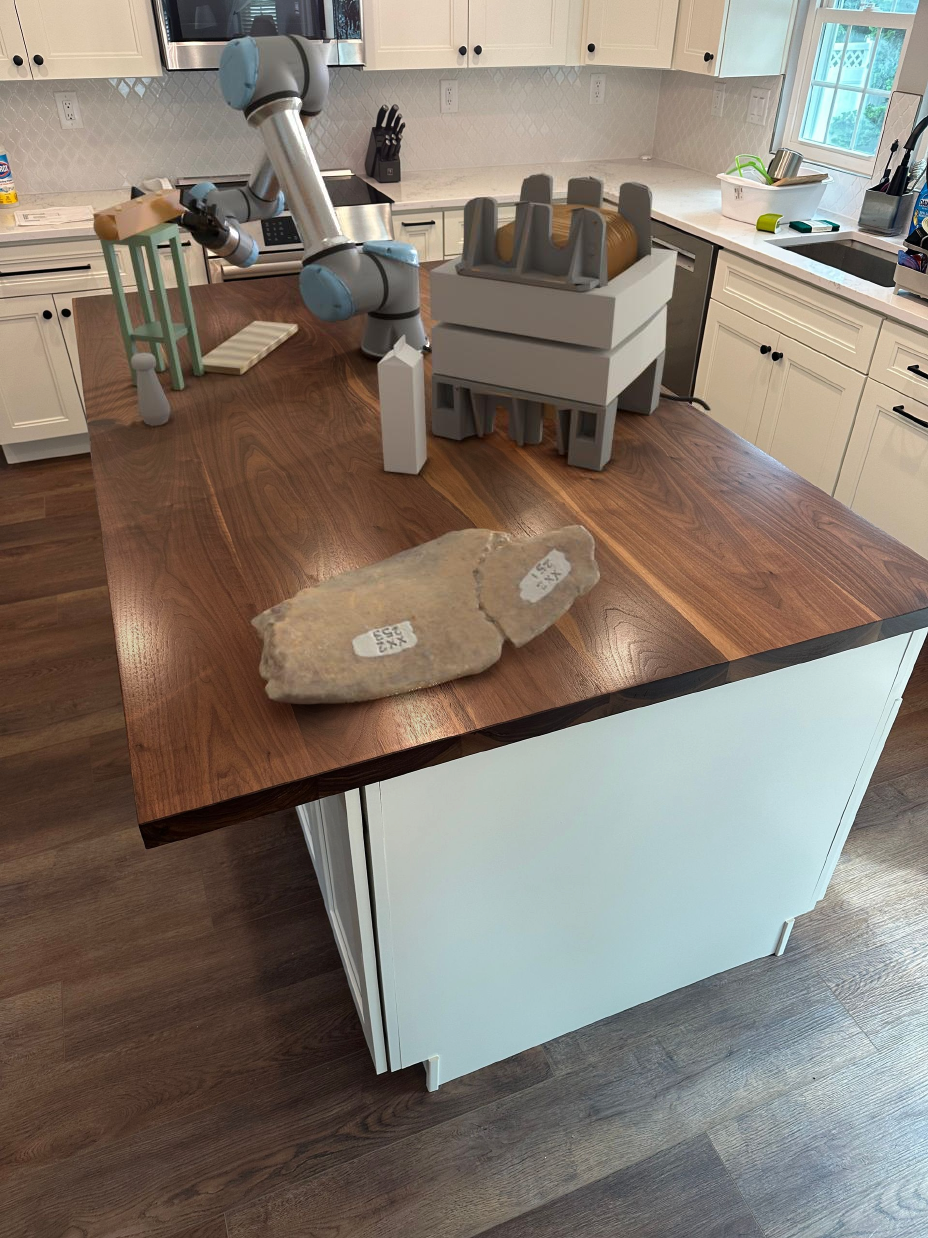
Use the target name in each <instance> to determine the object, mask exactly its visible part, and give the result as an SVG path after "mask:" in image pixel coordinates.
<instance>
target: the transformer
mask: <svg viewBox="0 0 928 1238" xmlns="http://www.w3.org/2000/svg"><path fill="white" fill-rule="evenodd" d="M604 189H605V183H604V181H603V179H602V180H601V179H598V178H595V177H593V176H590V175H589V177H587V176H581V177H580V176H579V177H572V178H570V179H569V180H568V181H567V192H566V204H565V203H553V192H554V191H553V190H554V178H553V176H552V175H550V174H547V173H545V172H541V173H536V174H531V175H529V176H528V177H525V178H523V181H522V183H521V187H520V196H519V201H518V202H516V203H514V205H513V206H514V207H515V215H514V220H512V221H511V222H508V223H506V224H504V225H502V226H500V227H499V226H498V225H499V201H498V200H497V199H496V198H494V197H492V196H479V197H478V196H477V197H474V198H472V199H469V200H468V201H467V203H465V205H464V207H463V242H462V243H463V245H462V253H461V254H460V255H458V256H457V257H454V258H452V259H450V260H449V261H447V262H445V263H443V264H441V265H439V266H437V267H435V268H433V269H431V270H430V271H429V297H430V298H429V300H430V301H429V302H430V320H431V321H437V322H438V323H436V324H434V325H433V326H431V328H430V334H431V338H430V339H431V348H432V353H431V368H432V369H431V372H432V374H431V376H430V377H431V380H430V381H431V382H430V383H431V432H432V433H433V435H435V436H439V437H443V438H448V439H452V440H455V441H456V440H457V441H461V440H463V439H465V438H467V437H471V436H475V435H477V437H479V438H483V437H484V434H485V435H491V434H492V433H493V432H494V431H495V430H494V429H495V422H496V413H497V408H500V409H504V410H506V411H507V413H508V433H507V434H508V437H509V439H511V440H512V441H515V442H516V443H517V446H520V447H523V446H524V444H529V445H530V444H531V445H539V444H540V443H541V442H542V440H543V427H544V426H543V425H544V418H547V419H551V420H553V421H554V420H555V425H556V448H557V449H558V455H562V456H565V452H567V465H570V466H575V467H579V468H583V469H589V470H593V471H597V472H601V471H602V470H604V466H605V465H606V464H607V463H608V462H609V461H610V460H611V456H612V455H611V454H612V445H613V439H614V432H615V424H616V417H617V409H620V410H625V411H629V412H633V413H638V414H643V415H649V416H650V415H651V414H653V412H654V411H655V409H659V408H660V407H659V402H660V397H659V395H660V392H661V387H662V379H663V374H664V373H663V372H664V364H665V357H666V351H667V350H666V340H667V316H668V315H667V313H668V304H667V302H669V300H671V299H672V298H673V291H674V284H675V283H674V282H675V274H676V267H677V258H678V250H674V249H673V250H672V249H663V248H655V247H652V244H653V240H652V222H651V219H652V210H653V209H652V208H653V197H654V196H653V193H652V191H651V189H650V188H649V186H647V185H645V184H642V183H639V182H637V181H625V182H624V183H621V184H620V186H619V191H618V193H619V194H618V202H617V204H618V205H617V211H615V210H610V209H605V208H603V204H604V203H603V202H604Z"/></svg>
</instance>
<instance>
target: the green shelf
mask: <svg viewBox="0 0 928 1238" xmlns="http://www.w3.org/2000/svg"><path fill="white" fill-rule="evenodd" d="M166 241H168V243H169V248H170V253H171V254H170V255H171V258H172V264H173V269H174V274H175V275H174V276H175V280H176V286H177V291H178V296H179V301H180V307H181V312H182V317H183V323H180V322H173V320H172V316H171V311H170V306H169V300H168V296H167V291H166V286H165V280H164V275H163V270H162V266H161V260H160V255H159V249H158V245H160V244H162V243H164V242H166ZM181 241H182V240H181V235H180V230H179V226H178V224H171V223H161V224H158V225H156V226H154V227H151V228H149V229H147V230H144V231H142V232H140V233H137V234H135V235H132V236H130V237H128V238H125V239H123V240H121V241H114V240H110V241H107V240H99V242H100V245H101V250H102V254H103V258H104V262H105V267H106V271H107V275H108V280H109V285H110V288H111V294H112V297H113V301H114V306H115V310H116V315H117V320H118V324H119V327H120V332H121V336H122V341H123V346H124V350H125V353H126V358H127V363H128V366H129V367H128V368H129V371H130V375H131V376H130V377H131V380H132V384H133V386H136V387H137V371H136V370H135V369H134V368H133V367H132V364H131V359H132V357H133V356H134V355H135V354H138V353H139V352H138V349H137V344H136V342H145V343H148V345H149V349H150V354H152V355H153V356H154V357H155V359H156V367H154V371H155V372H159V373H160V372H164V371H165V370H166V365H165V360H164V356H163V355H164V354H163V351H162V347H161V344H164V348H165V352H166V357H167V362H168V366H169V372H170V377H171V381H172V387H173V390H175V391H182V390H184V389H185V383H184V377H183V372H182V367H181V362H180V357H179V353H178V351H179V350H178V347H177V342H176V341H178V340H180V339H181V338H182V337H184V336H186V338H187V344H188V350H189V354H190V359H191V365H192V370H193V375H194V376H199V377H201V376H203V375H204V374H205V371H204V368H203V362H202V357H203V356H202V352H201V345H200V341H199V335H198V330H197V329H198V328H197V323H196V319H195V313H194V308H193V303H192V295H191V291H190V285H189V280H188V279H189V278H188V275H187V268H186V263H185V258H184V252H183V246H182V242H181ZM114 245H116V246H117V245H118V246H128V251H129V255H130V260H131V265H132V266H131V267H132V269H133V274H134V281H135V284H136V288H137V293H138V297H139V302H140V307H141V312H142V317H143V322H144V323H143V324H141V325H140V326H138V327H136V328H135V329H133V326H132V322H131V317H130V313H129V308H128V304H127V300H126V296H125V291H124V287H123V281H122V277H121V273H120V269H119V264H118V259H117V255H116V250H115V246H114ZM141 247H143V248H144V249H145V255H146V259H147V265H148V269H149V273H150V279H151V284H152V289H153V294H154V299H155V304H156V308H157V312H158V313H157V314H158V318H159V321H157V320H156V317H155V313H154V308H153V303H152V298H151V292H150V288H149V284H148V278H147V274H146V269H145V264H144V260H143V254H142V249H141Z"/></svg>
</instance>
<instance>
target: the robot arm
mask: <svg viewBox="0 0 928 1238" xmlns="http://www.w3.org/2000/svg"><path fill="white" fill-rule="evenodd" d="M328 68H329V67H328V64H327V62H326V59H325V57H324V55H323V53H322V52H321V51H320V49H319V48H318V47H317V45H316V44H314V43H313V42H312V41H310V39H308V38H306V37H304V36H301V35H298V34H285V35H272V36H271V35H269V36H268V35H267V36H250V35H246V36H244V37H242V38H241V37H240V38H234V39H231V40H230V41H228V42H227V43H226V44H225V46H224V47H223V48H222V50H221V53H220V57H219V67H218V79H219V86H220V89H221V93H222V97H223V98H224V101H225V102H226V104H227V105H228V106H229V107H230V108H232V109H233V110H236V111H238V112H240V111H242V113H243V116H244V118H245V121H246V123H247V125H248V126H249V127H252V128H253V129H255V130H257V131H258V133H259V135H260V138H261V141H262V144H261V147H260V149H259V152H258V154H257V157H256V159H255V163H254V164H253V167H252V169H251V172H250V174H249V175H250V176H249V178H248V180H247V182H246V185H245V186H243V187H238V188H232V189H226V190H221V191H220V190H219V189H218V187H216V186H215V184H214V183H212V182H209V181H201V182H198V183H197V184H196V185H194V186H193V187H192V188H191V189H190V190H189V191H187V190H186V189H184V188H180V189H179V190H180V200H179V204H181V205H182V206H184V209H185V213H184V214H182V215H180V216H177V217H175V218H173V219H170V220H168V221H165V222H163V223H171V224H178V228H179V227H180V228H182V229H185V230H186V231H187V232H190V235H191V237H192V239H193V240H194V241H195V243H197V244H199V245H200V246H202V247H203V248H205V249H207V250H208V251H210V252H211V253H213V254H215V255H216V256H217V257H218V256H219V257H220V258H222V259H223V260H225V261H226V262H228V263H229V264H230V265H232V266H234V267H237V268H240V269H247V268H250V267H252V266H254V264H255V263H256V262H257V260H258V258H259V252H260V251H259V246H258V244H257V241H256V240H254V239H253V237H252V235H250V234H247V233H246V231H245V229H244V228H243V227H242V225H241V224H246V223H252V222H258V221H263V220H270V219H272V218H275V217H279V216H281V215H282V214H283V212H284V210H285V204H284V203H286V205H287V208H288V211H289V214H290V216H291V218H292V221H293V223H294V226H295V228H296V231H297V233H298V236H299V239H300V241H301V244H302V246H303V249H304V253H303V256H302V259H301V265H302V268H303V269H302V270H301V271H300V273H299V277H298V282H299V292H300V294H301V297H302V299H303V302H304V304H305V305H306V307H307V309H308V310H309V311H310V312H311V313H312V314H313V315H314V316H316V318H319V319H320V320H321V321H323V322H326V323H336V322H340V321H342V322H343V321H347V320H350V319H351V318H354V317H357V316H361V315H364V314H367V315H366V316H367V317H366V322H365V328H364V332H363V336H362V339H361V342H360V344H361V345H360V347H361V353H362V355H364V356H365V357H366V358H369V359H370V360H374V361H379V362H380V361H381V360H382V359H383V358H384V357H385V356H386V355H387V353H388V352H390V351H391V350H393V349H394V345H395V344H396V343H397V342H398V341H399V340H400V338H401V337H402V336H403V335H405V339H406V344H408V345H409V346H411V347H412V348H414V349H415V350H417V351H418V352H420V353H421V354H423V357H424V356H426V355H427V354H428V353H430V354H432V347H430V340H429V339H430V338H429V337H428V334H427V332H426V328H425V325H424V323H423V319H422V317H421V304H420V303H421V302H420V301H421V299H420V264H419V256H418V250H417V248H416V247H415V246H414V245H412V244H409V243H406V242H402V241H395V240H384V239H383V240H382V239H374V240H373V239H372V240H366V241H365V242H363V244H362V247H361V251H362V252H361V253H359V251H358V248H357V245H356V243H355V241H354V240H353V239H351V238H348V237H346V236H345V233H344V232H343V229H342V226H341V223H340V221H339V218H338V216H337V212H336V210H335V208H334V205H333V203H332V200H331V197H330V195H329V192H328V189H327V186H326V184H325V181H324V178H323V176H322V173H321V171H320V168H319V165H318V162H317V160H316V157H315V154H314V151H313V148H312V146H311V143H310V141H309V138H308V136H307V132H308V130H309V127H310V125H311V123H312V121H313V118H317V117H318V116H320V115H321V112H322V111H323V108H324V106H325V103H326V101H327V98H328V95H329V90H330V74H329V73H330V72H329V69H328ZM146 194H147V193H146V192H144V191H142V189H140V188H138V187H136V186H131V190H130V200H132V199H135V198H138V197H140V196H143V195H146ZM659 398H662V399H665V400H669V401H673V402H678V403H695V404H697V405H699V406H701V407H702V409H704V411H708V412H710V411H712V409H711V408H710V406H709V405H708V403H707V402H705V401H704V400H703V399H701V398H699V397H696V396H695V397H694V396H678V395H673V394H668V393H666V392H661V391H660V395H659Z"/></svg>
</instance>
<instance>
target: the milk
mask: <svg viewBox="0 0 928 1238" xmlns="http://www.w3.org/2000/svg"><path fill="white" fill-rule="evenodd" d="M376 366H377V379H378V381H377V382H378V392H379V393H378V395H379V396H378V398H379V410H380V412H379V413H380V425H381V441H382V455H383V456H382V457H383V471H385V472H390V473H391V472H392V473H400V474H407V475H409V474H410V475H418V474H419V473H420V471H421V469H422V468H423V466H424V465H425V463H426V461H427V459H428V458H427V457H428V456H427V455H428V454H427V453H428V452H427V430H426V428H427V427H426V425H427V424H426V401H425V400H426V399H425V398H426V397H425V395H426V394H425V371H424V356H423V354H421V353H420V352H418V351H417V350H415V349H414V348H412V347H411V346H409V345H408V344H406V339H405V335H403V336H402V337H401V338H400V340H399V341H398V342H397V343H396V344H395V345H394V349H393V350H391V351H390V352H388V353H387V355H386V356H385V357H384V358H383V359H382V360H381V361H379V362H378V363H377V365H376Z"/></svg>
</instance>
